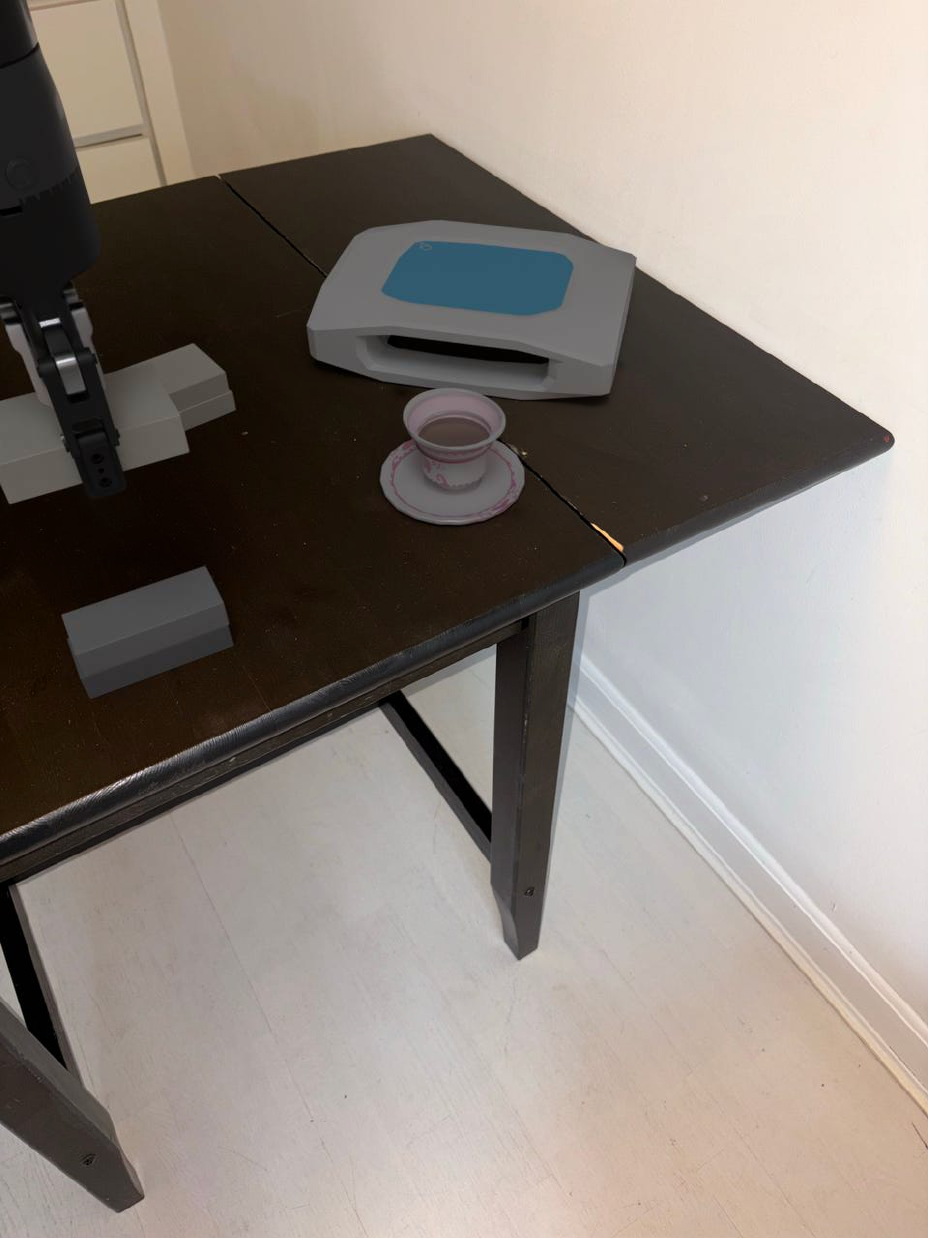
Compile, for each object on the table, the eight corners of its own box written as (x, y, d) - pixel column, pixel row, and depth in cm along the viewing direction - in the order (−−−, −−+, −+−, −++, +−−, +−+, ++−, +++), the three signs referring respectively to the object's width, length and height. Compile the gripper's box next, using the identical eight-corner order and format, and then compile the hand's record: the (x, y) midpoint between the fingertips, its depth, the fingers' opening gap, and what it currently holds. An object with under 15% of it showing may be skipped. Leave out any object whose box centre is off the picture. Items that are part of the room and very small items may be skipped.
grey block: (130, 453, 81) (118, 414, 78) (101, 420, 85) (88, 381, 82) (236, 410, 86) (228, 371, 83) (204, 380, 89) (195, 342, 86)
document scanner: (606, 412, 85) (614, 351, 81) (310, 373, 90) (301, 312, 85) (631, 296, 99) (639, 238, 95) (374, 267, 104) (369, 210, 99)
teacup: (554, 481, 79) (560, 419, 74) (448, 549, 73) (447, 486, 69) (456, 419, 85) (455, 358, 80) (350, 477, 79) (343, 415, 75)
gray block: (90, 699, 63) (70, 657, 60) (76, 659, 66) (56, 616, 62) (235, 645, 66) (223, 602, 63) (217, 609, 69) (205, 565, 66)
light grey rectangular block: (9, 504, 51) (-8, 466, 49) (-10, 445, 55) (-27, 407, 53) (190, 452, 55) (180, 414, 53) (161, 399, 58) (150, 361, 56)
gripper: (-116, 123, 46) (5, 413, 59) (-78, 245, 38) (54, 555, 50) (43, 98, 49) (126, 381, 61) (112, 207, 40) (193, 512, 52)
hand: (93, 459), depth 55 cm, fingers closed on light grey rectangular block, 6 cm apart
